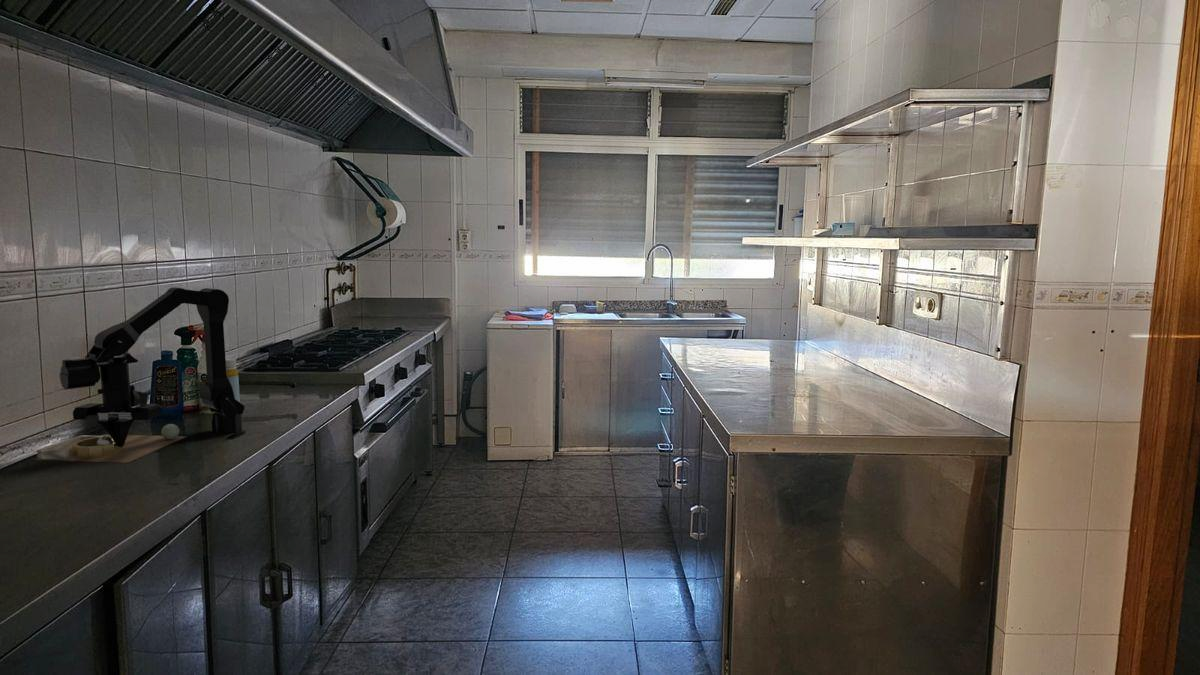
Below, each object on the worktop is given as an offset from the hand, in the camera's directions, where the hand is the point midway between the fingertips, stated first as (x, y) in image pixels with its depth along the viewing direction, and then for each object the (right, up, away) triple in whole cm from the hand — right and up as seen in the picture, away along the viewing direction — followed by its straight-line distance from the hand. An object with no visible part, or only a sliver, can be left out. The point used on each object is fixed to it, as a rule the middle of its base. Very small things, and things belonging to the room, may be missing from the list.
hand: (121, 446), depth 177 cm
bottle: (-2, +4, +55) cm, 55 cm away
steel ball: (-4, +1, 0) cm, 4 cm away
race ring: (-6, -1, +1) cm, 6 cm away
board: (-4, -2, +4) cm, 6 cm away
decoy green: (+5, +2, +12) cm, 13 cm away
